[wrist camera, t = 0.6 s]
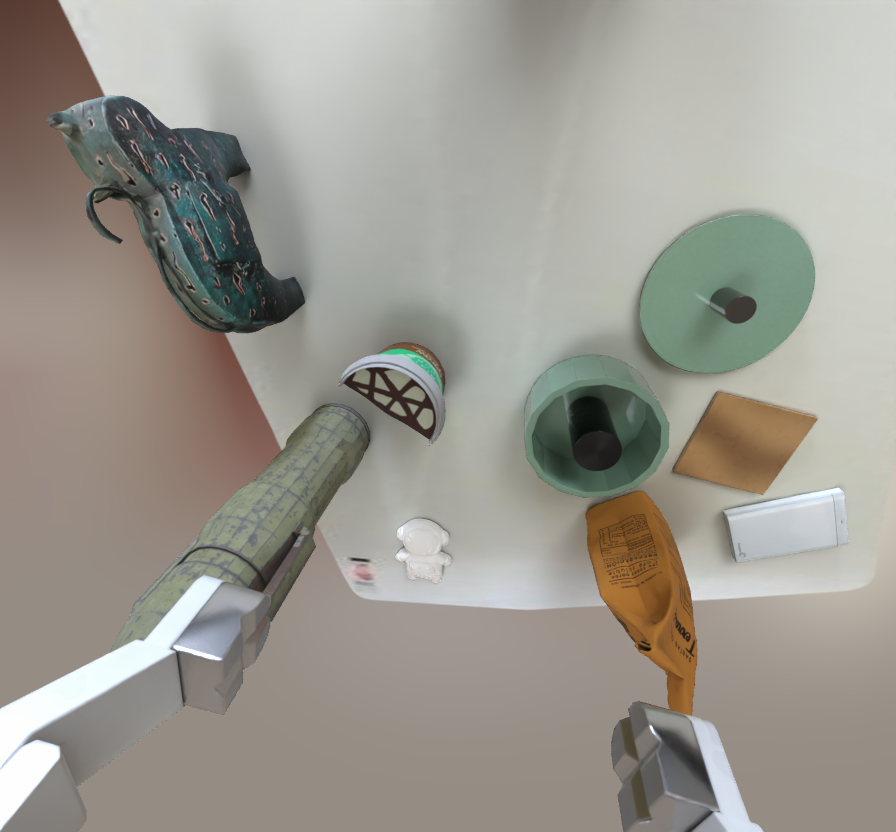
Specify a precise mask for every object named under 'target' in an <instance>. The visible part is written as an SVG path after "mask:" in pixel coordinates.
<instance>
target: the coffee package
mask: <svg viewBox="0 0 896 832" xmlns="http://www.w3.org/2000/svg"><path fill="white" fill-rule="evenodd" d="M585 514H586V520H587V526H588V527H587V531H588V535H587V545H588V551H589V555H590V559H591V562H592V565H593V569H594V573H595V577H596V581H597V585H598V588H599V592H600V596H601V597H602V599H603V600H604V602H605V603H606V604H607V606H608V607H609V609H610V610H611V611H612V613H613V615H614V616H615V617H616V619H617V620H618V621H619V622H620V623H621V624H622V626H623V627H624V629H625V630H626V632H627V633H628V635H629V636H630V637H631V639H632V640H633V641H634V642H635V647H636V648H637V649H638V651H639V652H640V653H642V654H644V655H645V656H647V657H648V658H649V659H650V660H652V661H653V662H654V663H655V664H656V665H658V666H659V667H660V668H662V669H663V670H664V671H665V673H666V675H667V689H668V704H669V708H670V709H671V710H674V711H677V712H681V713H683V714H685V715H689V716H692V706H693V705H692V704H693V702H692V700H693V695H694V693H693V692H694V686H695V671H696V666H697V639H696V636H695V627H694V620H693V607H692V600H691V592H690V587H689V584H688V581H687V578H686V575H685V571H684V568H683V564H682V561H681V557H680V554H679V552H678V549H677V546H676V543H675V541H674V538H673V536H672V533H671V531H670V529H669V526H668V524H667V522H666V520H665V519H664V517H663V516H662V514H661V512H660V511H659V509H658V508H657V507H656V505H655V504H654V503H653V501H652V500H651V499H650V498H649V496H648V495H647V494H646V493H645V492H643V491H636V492H633V493H631V494H628V495H625V496H621V497H618V498H616V499H613V500H610V501H608V502H605V503H601V504H598V505H596V506H595V507H593V508H591V509H590V510H588V511H586V513H585Z"/></svg>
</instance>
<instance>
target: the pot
mask: <svg viewBox="0 0 896 832" xmlns="http://www.w3.org/2000/svg"><path fill="white" fill-rule="evenodd" d="M586 396H591V397H596V398H599V399H600V400H602V401H603V402H604V403H605V404H606V406H607V408H608V410H609V413H610V416H611V418H612V421H613V424H614V427H615V429H616V432H617V435H618V437H619V440H620V443H621V446H622V454H621V457H620V459H619V461H618V462H617V463H616V464H615V465H614V466H612V467H611V468H609V469H606V470H602V471H590V470H587V469H584V468H583V467H581V466H580V465H579V464H578V463H577V462H576V461H575V459H574V456H573V450H572V445H571V439H570V433H569V428H568V422H567V410H568V408H569V406H570V405H571V404H572V403H573V402H574V401H575V400H577V399H579V398H581V397H586ZM524 440H525V448H526V456H527V459H528V461H529V462H530V464H531V465H532V467H533V469H534V470H535V472H536V473H537V475H538V476H539V477H540V478H541V479H542V480H544V481H545V482H547V483H548V484H550V485H551V486H552V487H554V488H555V489H557V490H558V491H561V492H564V493H568V494H572V495H576V496H579V497H583V498H587V497H608V496H613V495H616V494H618V493H621V492H624V491H626V490H629V489H632V488H635V487H637V486H638V485H639V484H640V483H642V482H643V481H644V480H645V479H647V478H648V477H649V476H650V475H651V474H653V473H654V472H655V471H656V470H657V468H658V466H659V464H660V463H661V461H662V459H663V457H664V455H665V453H666V452H667V450H668V447H669V422H668V420H667V418H666V416H665V414H664V412H663V410H662V408H661V406H660V404H659V401H658V400H657V398H656V397H655V395H654V393H653V392H652V390H651V389H650V387H649V385H648V384H647V382H646V381H645V379H644V377H643V376H642V375H640V374H639V373H638V372H637V371H636V370H635V369H633V368H632V367H631V366H629V365H628V364H626V363H625V362H623V361H620V360H618V359H615V358H612V357H607V356H602V355H583V356H578V357H573V358H570V359H567V360H564V361H562V362H560V363H558V364H556V365H554V366H553V367H551V368H550V369H549V370H547V371H546V372H545V373H544V374H543V375H542V376H541V377H540V378H539V379H538V380H537V381H536V383H535V384H534V386H533V387H532V389H531V391H530V393H529V396H528V398H527V402H526V406H525V409H524Z"/></svg>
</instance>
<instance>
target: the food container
mask: <svg viewBox="0 0 896 832" xmlns="http://www.w3.org/2000/svg"><path fill="white" fill-rule="evenodd" d="M339 383H340V385H339V386H341V385H342V384H345V385H347V386H348V387H349V388H351V389H353V390H355V391H357V392H358V393H360V394H361V395H363V396H364V397H366V398H367V399H368V400H370V401H371V402H372V403H374V404H375V405H376V406H377V407H379V408H380V409H381V410H383V411H384V412H385V413H387V414H388V415H390V416H392V417H394V418H396V419H397V420H399V421H401V422H403V423H405V424H406V425H408V426H410V427H411V428H413V429H414V430H416V431H417V432H419V433H420V434H422V435H423V436H425V437H426V438H428V439H430V440H429V445H430V444H433V443H434V442H435V441H436V439H437V438H438V436H439V435H440V433H441V431H442V429H443V426H444V422H445V413H446V409H445V402H444V399H443V393H444V387H445V376H444V370H443V368H442V366H441V363H440V361H439V360H438V359H437V357H436V356H435V355H434V354H433V353H432V352H431V351H430V350H428V349H427V348H425V347H423V346H421V345H418V344H415V343H408V342H403V343H397V344H393V345H391V346H389V347H387V348H385V349H384V350H383V351H381V352H380V353H378V354H377V355H371V356H367V357H364V358H362V359H360V360H358V361H356V362H355V363H353V364H352V365H350V366H349V367H348V368H347V369H346V370H345V372H344V373H343V374H342V376H341V378H340V380H339ZM339 386H338V387H339Z"/></svg>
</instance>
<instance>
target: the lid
mask: <svg viewBox="0 0 896 832" xmlns="http://www.w3.org/2000/svg"><path fill="white" fill-rule="evenodd" d="M814 282H815V268H814V263H813V258H812V255H811V253H810V250H809V248H808V246H807V244H806V243H805V241H804V240H803V238H802V237H801V236H800V235H799V234H798V233H797V232H796V231H795V230H794V229H792V228H791V227H790V226H788V225H787V224H785V223H783V222H781V221H779V220H776V219H773V218H770V217H767V216H761V215H754V214H739V215H730V216H725V217H721V218H717V219H714V220H711V221H709V222H706V223H704V224H702V225H700V226H698V227H696V228H694V229H692V230H690V231H689V232H687V233H686V234H684V235H683V236H681V237H680V238H679V239H678V240H676V241H675V242H674V243H673V244H672V245H671V246H670V247H669V248H668V249H667V250H666V251H665V252H664V253H663V254H662V255H661V257H660V258H659V259H658V260H657V262H656V263H655V265H654V266H653V268H652V269H651V271H650V273H649V275H648V277H647V279H646V281H645V284H644V287H643V290H642V294H641V299H640V308H639V314H640V323H641V328H642V331H643V333H644V336H645V338H646V340H647V342H648V343H649V345H650V346H651V348H652V349H653V350H654V351H655V353H656V354H658V355H659V356H660V357H661V358H662V359H663V360H665V361H666V362H668V363H669V364H671V365H673V366H675V367H677V368H680V369H683V370H686V371H691V372H697V373H718V372H725V371H730V370H734V369H737V368H740V367H743V366H746V365H748V364H751V363H753V362H755V361H757V360H759V359H760V358H762V357H764V356H765V355H767V354H769V353H770V352H771V351H773V350H774V349H775V348H777V347H778V346H779V345H780V344H781V343H782V342H783V341H784V340H786V339H787V338H788V336H789V335H790V334H791V333H792V332H793V331H794V330H795V328H796V327H797V325H798V324H799V323H800V321H801V320H802V318H803V316H804V314H805V312H806V310H807V308H808V306H809V303H810V301H811V298H812V294H813V290H814Z"/></svg>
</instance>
